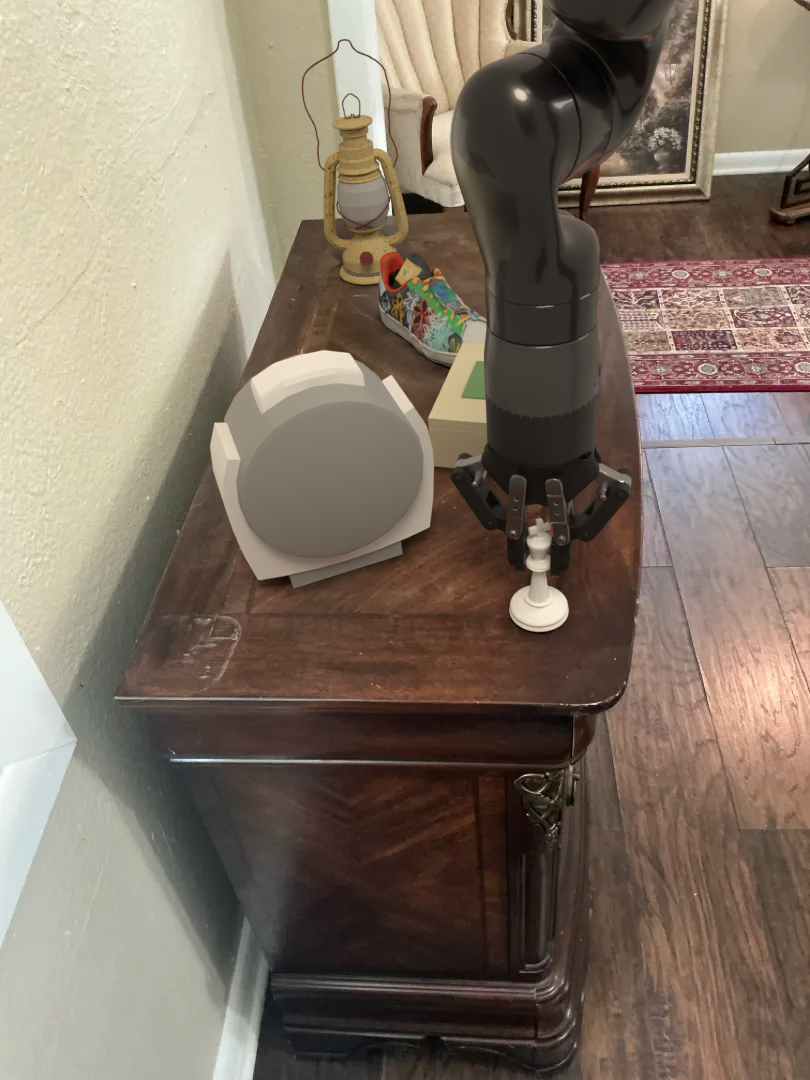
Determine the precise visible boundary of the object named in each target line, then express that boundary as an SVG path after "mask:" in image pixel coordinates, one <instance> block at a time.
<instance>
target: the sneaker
mask: <svg viewBox="0 0 810 1080" xmlns="http://www.w3.org/2000/svg"><path fill="white" fill-rule="evenodd" d="M378 285H379V286H378V308H379V313H380V318H381V321H382V323H383V324H384V326H385V327H386V328H387V329H389V330H390V331H391V332H393V333H395V334H397V335H399V336H401V337H402V338H403V339H404V340H405V341H407V342H408V343H410V344H411V345H412V347H413V348H415V350H416V351H417V352H418V353H419V354H421V355H422V356H423V357H424V358H425V359H428V360H429V361H432V362H434V363H438V364H440V365H443V366H446V367H449V368H451V367H452V365H453V363H454V360H455V358H456V356H457V354H458V352H459V349H460V347H461V345H462V343H478V344H485V337H486V322H487V321H486V317H484V316H483V315H481V314H479V313H478V312H476V311H475V310H473V309H471V308H470V307H468V306H467V305H466V304H465V303H464V302H463V300H462V298H461V297H459V295H458V294H457V293H456V292H455V290H453V289H452V287H451V285H450V284H448V282H447V280H446V278H445V276H443V275H442V272H441V270H440V269H439V268H438V267H437V266H434V267H433V269H432V271H431V269H430V267H429V265H428V262H427V261H426V260H425V258H424V257H423V256H422V255H421V254H419V253H418V252H413V253H412V254H411V255H410V256H409V257H407V258H406V259H405V260H404V259H403V257H402V256H401V254H400V253H399V252H397V251H396V252H390V253H386V254H384V255H383V256H382V257H381V259H380V280H379V283H378Z"/></svg>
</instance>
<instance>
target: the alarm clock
mask: <svg viewBox="0 0 810 1080" xmlns="http://www.w3.org/2000/svg"><path fill="white" fill-rule="evenodd" d="M209 450H210V456H211V463H212V472H213V475H214V478H215V481H216V484H217V488H218V490H219V493H220V497H221V499H222V503H223V505H224V509H225V512H226V514H227V515H226V516H227V518H228V521H229V523H230V527H231V529H232V532H233V534H234V537H235V539H236V541H237V543H238V545H239V548H240V550H241V552H242V554H243V557H244V559H245V560H246V562H247V563H248V565H249V568H250V569H251V570H252V572H253V574H254V576H255V577H256V579H257V580H258V581H264V580H268V579H274V578H281V577H286V576H288V579H289V580H290V583H291V586H292V588H293V589H297V588H300V587H303V586H306V585H307V586H308V585H309V584H314V583H316V582H319V581H322V580H326V579H328V578H332V577H334V576H335V577H336V576H339V575H341V574H345V573H347V572H351V571H354V570H357V569H358V570H359V569H361V568H364V567H367V566H369V565H372V564H376V563H380V562H383V561H386V560H389V559H392V558H393V559H394V558H396V557H399V556H402V555H403V547H402V546H403V545H402V541H403V540H405V539H407V538H410V537H412V536H414V535H417V534H418V533H422V532H423V531H425V530H427V529H429V528H430V527H431V522H432V521H431V520H432V511H433V504H434V481H435V478H434V477H435V466H434V464H433V448H432V444H431V440H430V436H429V428H428V426H427V424H426V423H425V421H424V419H423V418H422V416H421V415H420V414H419V412H418V410H417V409H416V407H415V406H414V405H413V403H412V402H411V401H410V399H409V397H408V396H407V395H406V393H405V392H404V391H403V389H402V388H401V386H400V384H399V383H398V382H397V381H396V379H395V377H394V376H393V375H392V374H391V375H388V376H387V377H385V378H384V379H382V380H381V378H380V376H379V375H378V374H376V373H375V372H374V371H373V370H372V369H371V368H369V367H368V366H367V365H365V363H363V362H361V361H359V360H356V359H354V357H353V356H352V354H351V353H350V352H343V351H335V350H325V349H323V350H318V351H313V352H308V353H300V354H294V355H291V356H288V357H286V358H284V359H281V360H278V361H276V362H274V363H271V364H270V365H268V366H267V367H265V368H263V369H262V370H261V371H259V372H258V373H256V374H254V375H253V376H252V377H251V378H249V380H248V381H247V382H246V383H245V385H244V386H242V388H241V389H240V390H239V391H238V392H237V394H236V395H234V397H233V399H232V401H231V404H230V405H229V408H228V409H227V411H226V414H225V415H224V419H223V422H214V423H213V428H212V435H211V439H210V444H209Z"/></svg>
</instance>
